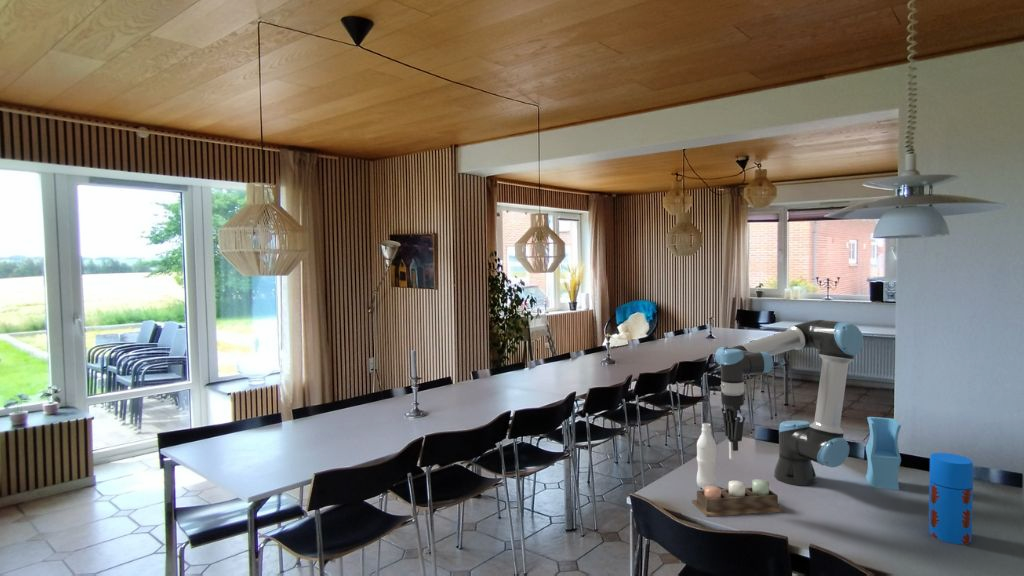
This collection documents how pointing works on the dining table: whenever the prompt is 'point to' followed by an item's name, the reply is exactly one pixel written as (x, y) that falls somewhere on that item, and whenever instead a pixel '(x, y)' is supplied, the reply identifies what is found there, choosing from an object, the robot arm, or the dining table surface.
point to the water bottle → (706, 458)
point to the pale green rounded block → (760, 487)
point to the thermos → (950, 498)
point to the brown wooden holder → (737, 503)
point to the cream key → (736, 489)
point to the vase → (883, 453)
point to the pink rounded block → (712, 492)
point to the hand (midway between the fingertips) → (733, 458)
